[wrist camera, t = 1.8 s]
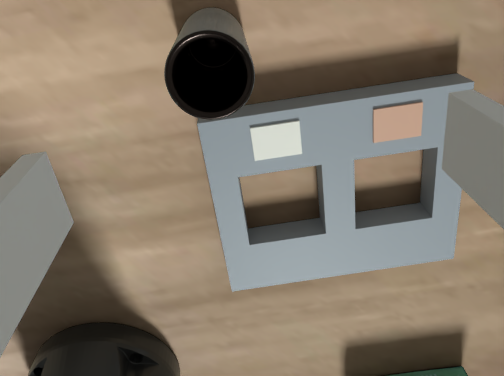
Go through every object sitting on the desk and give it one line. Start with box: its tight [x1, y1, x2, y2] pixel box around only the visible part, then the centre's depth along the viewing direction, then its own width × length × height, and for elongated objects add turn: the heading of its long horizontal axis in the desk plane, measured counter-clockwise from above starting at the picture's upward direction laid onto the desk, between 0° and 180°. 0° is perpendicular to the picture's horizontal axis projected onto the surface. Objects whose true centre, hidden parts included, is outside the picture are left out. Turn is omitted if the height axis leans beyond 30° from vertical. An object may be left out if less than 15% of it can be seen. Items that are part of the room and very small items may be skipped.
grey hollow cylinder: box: [164, 8, 255, 120], centre depth 26 cm, size 4×4×10 cm
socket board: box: [197, 73, 474, 291], centre depth 36 cm, size 20×16×3 cm
